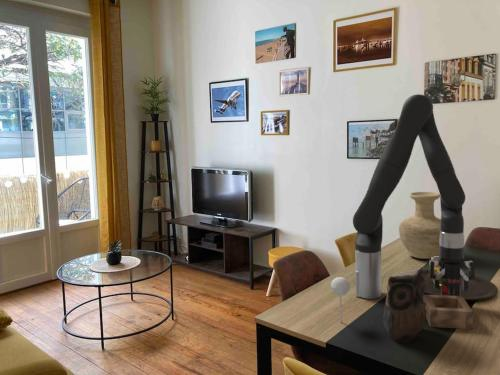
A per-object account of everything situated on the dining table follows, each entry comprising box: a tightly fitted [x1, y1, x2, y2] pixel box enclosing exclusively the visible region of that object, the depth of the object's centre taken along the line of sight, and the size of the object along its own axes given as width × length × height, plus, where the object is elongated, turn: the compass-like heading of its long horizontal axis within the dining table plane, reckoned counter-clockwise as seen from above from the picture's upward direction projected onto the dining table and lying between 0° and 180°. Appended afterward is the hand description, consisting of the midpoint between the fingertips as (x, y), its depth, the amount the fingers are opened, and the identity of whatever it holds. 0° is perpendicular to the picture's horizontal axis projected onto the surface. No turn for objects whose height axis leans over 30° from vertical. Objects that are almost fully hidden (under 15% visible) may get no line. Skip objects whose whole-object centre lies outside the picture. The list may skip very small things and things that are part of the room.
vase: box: [398, 191, 441, 260], centre depth 193 cm, size 22×22×30 cm
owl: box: [382, 267, 427, 343], centre depth 123 cm, size 13×13×20 cm
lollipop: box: [330, 276, 351, 323], centre depth 133 cm, size 6×6×15 cm
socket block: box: [423, 294, 474, 330], centre depth 132 cm, size 12×12×6 cm
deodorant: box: [440, 263, 462, 296], centre depth 142 cm, size 6×6×15 cm
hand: (450, 290), depth 143 cm, fingers open, 8 cm apart
